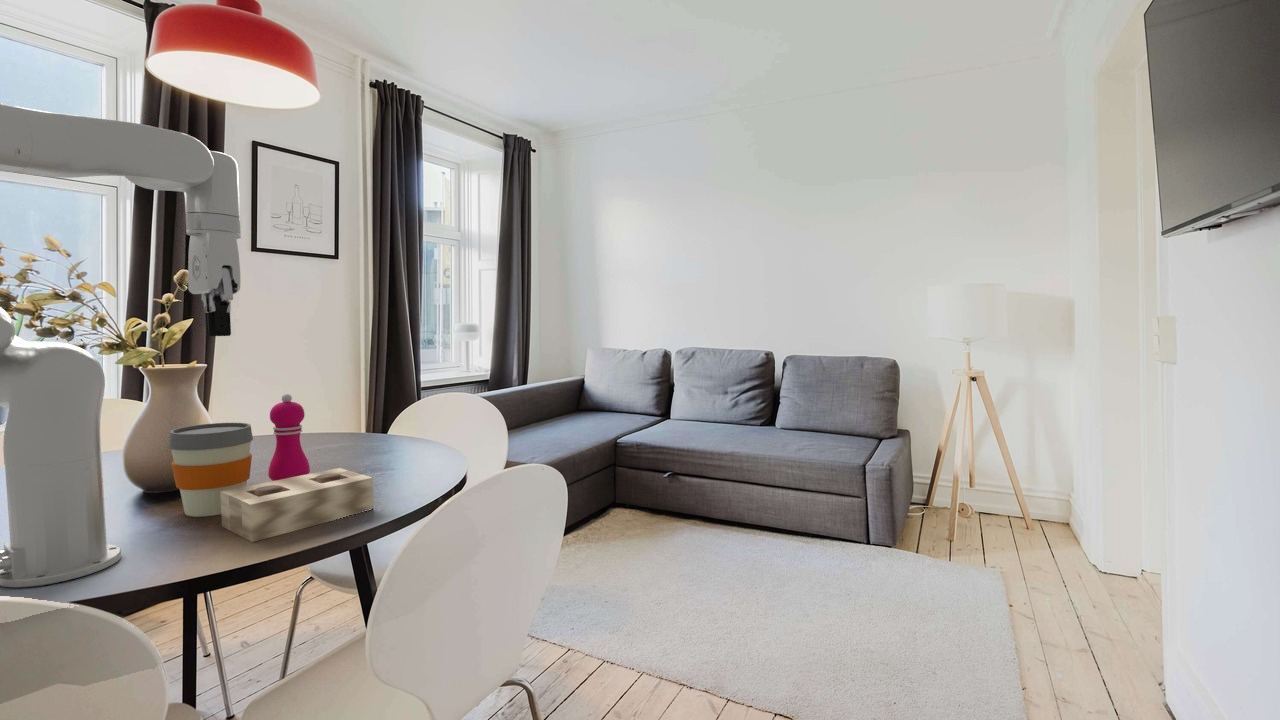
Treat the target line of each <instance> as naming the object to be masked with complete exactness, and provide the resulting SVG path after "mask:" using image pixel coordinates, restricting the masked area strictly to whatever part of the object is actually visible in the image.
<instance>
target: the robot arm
mask: <svg viewBox="0 0 1280 720" xmlns="http://www.w3.org/2000/svg"><path fill="white" fill-rule="evenodd" d="M0 172H4V173H13V174H19V175H27V176H34V177H41V178H42V177H43V178H61V179H62V178H63V179H65V178H67V179H68V178H69V179H70V178H71V179H72V178H73V179H74V178H87V177H100V176H101V177H109V176H112V177H113V176H114V177H124V178H126V179H127V180H128V181H129V182H130V183H133V184H134V185H135V186H136V185H137V186H138V187H141V188H143V189H147V190H154V191H171V192H180V193H181V192H182V193H183V194H184V208H185V209H184V211H185V225H186V226H185V230H186V231H185V232H186V233H185V235H186V236H190V237H189V243H188V244H189V245H188V262H187V263H188V264H187V265H188V267H187V270H188V272H187V273H188V276H187V278H188V279H187V280H188V281H187V286H188V287H187V290H188V292H189V293H191V294H192V295H201V301H202V302H203V308H204V309H203V310H204V323H205V324H204V325H205V336H207V337H229V336H232V330H231V326H232V325H231V307H232V306H231V305H232V304H231V303H232V301H233V300H234V295H235V294H237V293H238V292H240V290H241V265H240V254H239V245H238V239H241V238H242V236H241V235H242V234H241V214H240V212H241V211H240V208H241V207H240V190H239V189H240V188H239V167H238V163H237V160H236V159H235V158H233V156H231V155H229V154H226V153H223V152H220V151H216V150H209V148H208V147H207V146H206V145H205V144H204V143H203V142H201V140H199V139H197V138H196V137H194V136H191V135H190V134H186V133H184V132H180V131H175V130H172V129H166V128H163V127H158V126H157V127H156V126H152V125H148V124H147V125H146V124H142V123H137V122H129V121H122V120H113V119H106V118H97V117H96V118H95V117H90V116H89V117H87V116H82V115H76V114H70V113H69V114H67V113H60V112H59V113H58V112H49V111H45V110H43V111H42V110H39V109H31V108H26V107H21V106H16V105H11V104H6V103H1V102H0ZM105 388H106V376H105V373H104V370H103V367H102V365H101V363H100V362H99V361H98V359H97V358H96V357H95V356H94V355H93V354H92V353H90V352H88V351H87V350H86V349H84V348H82V347H80V346H77V345H74V344H70V343H65V342H57V341H36V340H35V341H26V340H24V339H22V338H20V337H19V336H17V335H16V329H15V324H14V321H13V319H12V318H11V316H10V314H8V312H7V311H6V310H5V309H4V308H2V307H1V306H0V408H4V409H8V412H7V413H8V414H7V417H6V422H5V427H4V432H3V433H4V434H3V447H2V449H3V450H2V451H3V464H4V469H5V472H4V473H5V484H6V499H7V513H8V528H9V531H8V532H9V542H8V541H7V542H4V543H3V548H2V549H0V587H5V588H31V587H40V586H46V585H51V584H57V583H61V582H67V581H70V580H74V579H77V578H81V577H85V576H88V575H90V574H91V575H92V574H93V573H97V572H100V571H102V570H104V569H106V568H108V567H110V566H112V565H114V564H115V563H117V562H119V560H120V559H121V558H122V549H121V547H119V546H118V545H114V544H109V543H108V544H107V528H106V509H105V492H104V477H103V475H104V473H103V460H102V459H103V458H102V457H103V456H102V446H101V445H102V442H101V415H102V413H101V412H102V406H103V402H104V394H105Z"/></svg>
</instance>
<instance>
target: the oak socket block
mask: <svg viewBox="0 0 1280 720" xmlns="http://www.w3.org/2000/svg"><path fill="white" fill-rule="evenodd" d="M329 473H338V474H341V479H340V480H335V481H330V482H326V483H319V482H316V477H317V476H319V475H322V474H329ZM373 481H374V479H373V476H368V475H365V474H361V473H359V472H355V471H350V470H348V469H345V468H342V467H338V468H332V469H328V470H321V471H317V472H313V473H309V474H306V475H301V476H296V477H291V478H286V479H281V480H276V481H272V480H271V481H267V482H261V483H257V484H253V485H252V484H251V485H246V486H245V487H240V488H235V489H230V490H225V491H220V493H221V514H220V515H221V527H223V528H225V530H226V529H227V530H228V531H229V532H232V533H233V534H235V535H238V536H239V537H242V538H243V539H245V540H248V542H251V543H254V542H259V541H261V540H265V539H269V538H273V537H276V536H277V537H278V536H280V535H284V534H287V533H288V534H289V533H292V532H296V531H300V530H304V529H306V528H311V527H313V526H318V525H322V524H325V523H329V521H330V522H333V521H337V520H340V518H341V519H344V518H343V517H345V518H347V517H346V516H348V517H350V516H349V515H352V516H354V515H353V514H356V513H359V512H362V511H365V510H369V509H372V508H373V509H374V482H373ZM270 485H280V486H282V489H283V492H279V493H274V494H270V495H265V496H260V497H258V496H255V491H254V490H255V489H257V488H259V487H263V486H270ZM356 515H357V514H356ZM336 519H337V520H336Z"/></svg>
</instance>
